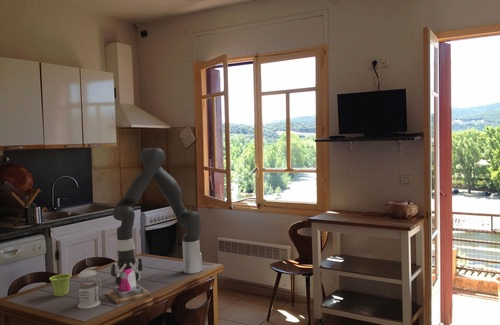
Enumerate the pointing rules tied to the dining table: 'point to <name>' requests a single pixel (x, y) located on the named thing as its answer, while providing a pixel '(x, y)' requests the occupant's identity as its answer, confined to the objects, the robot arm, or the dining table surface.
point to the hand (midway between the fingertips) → (127, 282)
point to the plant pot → (60, 284)
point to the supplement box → (127, 280)
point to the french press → (85, 298)
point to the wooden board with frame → (127, 294)
